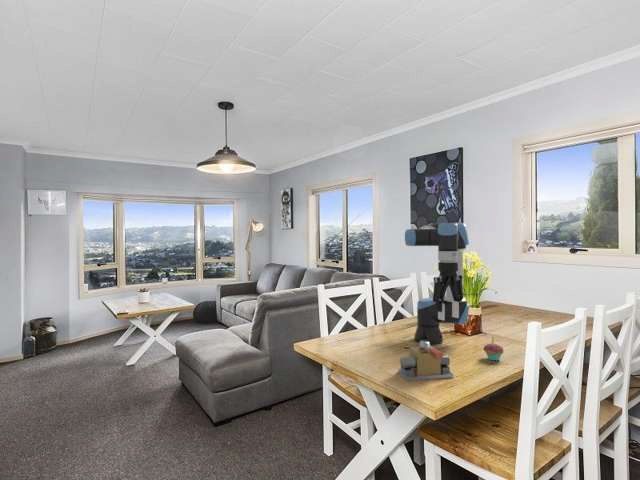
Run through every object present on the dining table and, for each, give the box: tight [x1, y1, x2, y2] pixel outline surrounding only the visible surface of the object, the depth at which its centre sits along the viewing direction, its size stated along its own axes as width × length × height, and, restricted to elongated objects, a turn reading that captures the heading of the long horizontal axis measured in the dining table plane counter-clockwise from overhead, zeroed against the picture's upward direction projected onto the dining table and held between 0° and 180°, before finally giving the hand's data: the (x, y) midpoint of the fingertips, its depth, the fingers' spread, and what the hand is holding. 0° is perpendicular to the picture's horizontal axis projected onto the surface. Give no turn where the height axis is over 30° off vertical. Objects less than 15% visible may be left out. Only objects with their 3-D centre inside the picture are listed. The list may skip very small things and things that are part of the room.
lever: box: [419, 341, 444, 359], centre depth 146 cm, size 16×4×3 cm, turn 8°
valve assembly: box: [397, 346, 454, 382], centre depth 152 cm, size 20×10×11 cm, turn 98°
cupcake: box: [483, 334, 505, 362], centre depth 169 cm, size 9×8×12 cm
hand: (448, 318), depth 145 cm, fingers open, 7 cm apart
